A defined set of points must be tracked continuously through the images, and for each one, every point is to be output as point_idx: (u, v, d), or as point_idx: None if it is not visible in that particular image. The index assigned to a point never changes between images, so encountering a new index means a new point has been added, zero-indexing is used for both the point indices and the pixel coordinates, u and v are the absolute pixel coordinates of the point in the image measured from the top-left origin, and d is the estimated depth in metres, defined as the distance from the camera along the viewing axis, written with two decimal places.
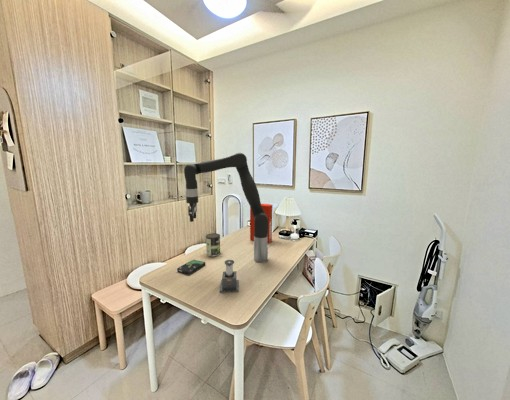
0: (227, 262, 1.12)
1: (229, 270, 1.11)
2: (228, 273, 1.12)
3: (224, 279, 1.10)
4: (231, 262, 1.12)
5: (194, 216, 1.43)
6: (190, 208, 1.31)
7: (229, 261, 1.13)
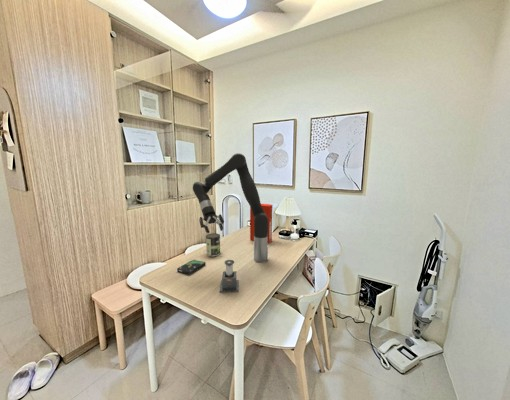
0: (227, 262, 1.12)
1: (229, 270, 1.11)
2: (228, 273, 1.12)
3: (224, 279, 1.10)
4: (231, 262, 1.12)
5: (220, 228, 1.27)
6: (199, 219, 1.25)
7: (229, 261, 1.13)
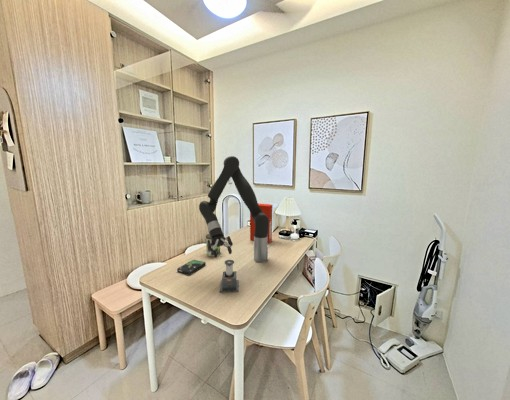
0: (227, 262, 1.12)
1: (229, 270, 1.11)
2: (228, 273, 1.12)
3: (224, 279, 1.10)
4: (231, 262, 1.12)
5: (229, 251, 1.20)
6: (207, 243, 1.18)
7: (229, 261, 1.13)
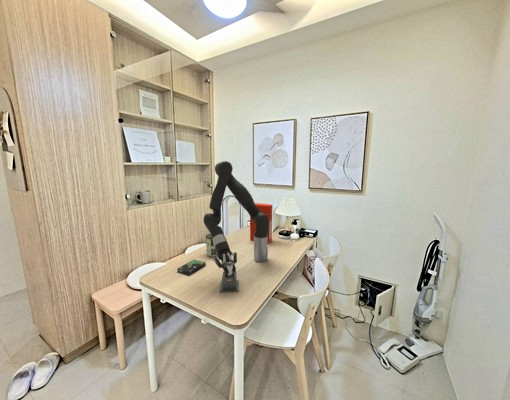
0: (227, 262, 1.12)
1: (229, 270, 1.11)
2: None
3: (224, 279, 1.10)
4: (231, 262, 1.12)
5: (233, 269, 1.13)
6: (215, 260, 1.12)
7: (229, 261, 1.13)
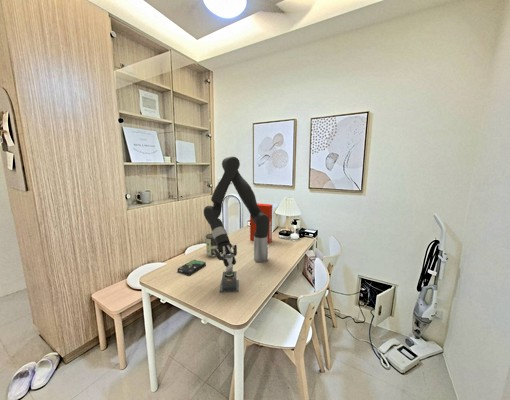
0: (227, 254, 1.11)
1: (229, 262, 1.11)
2: None
3: (224, 279, 1.10)
4: (231, 254, 1.11)
5: (233, 262, 1.12)
6: (215, 253, 1.11)
7: (229, 253, 1.12)
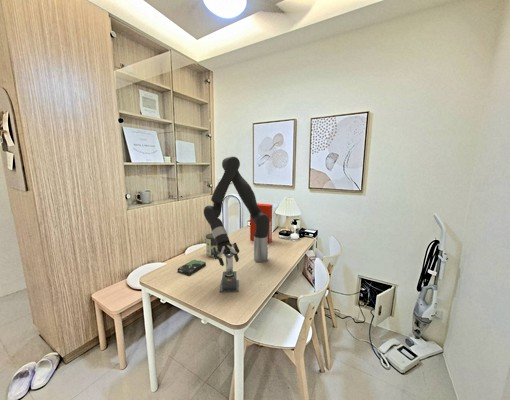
0: (227, 254, 1.11)
1: (229, 262, 1.11)
2: (228, 265, 1.11)
3: (224, 279, 1.10)
4: (231, 254, 1.11)
5: (236, 259, 1.14)
6: (213, 250, 1.12)
7: (229, 253, 1.12)
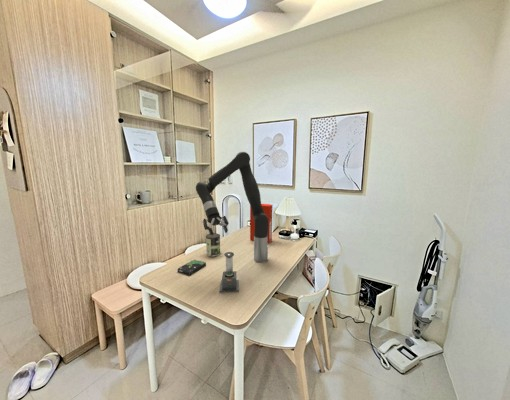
0: (227, 254, 1.11)
1: (229, 262, 1.11)
2: (228, 265, 1.11)
3: (224, 279, 1.10)
4: (231, 254, 1.11)
5: (225, 230, 1.22)
6: (203, 221, 1.20)
7: (229, 253, 1.12)
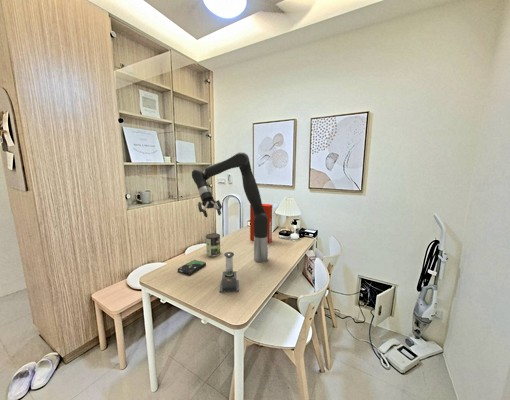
0: (227, 254, 1.11)
1: (229, 262, 1.11)
2: (228, 265, 1.11)
3: (224, 279, 1.10)
4: (231, 254, 1.11)
5: (218, 213, 1.31)
6: (198, 204, 1.29)
7: (229, 253, 1.12)
